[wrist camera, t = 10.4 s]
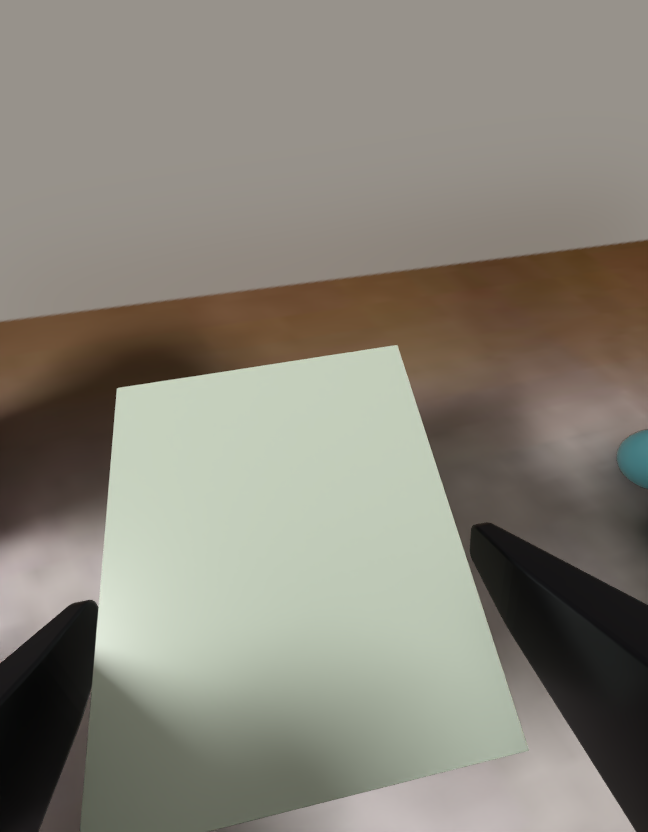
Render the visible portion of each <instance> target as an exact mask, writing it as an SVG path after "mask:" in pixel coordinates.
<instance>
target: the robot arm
mask: <svg viewBox="0 0 648 832" xmlns="http://www.w3.org/2000/svg"><path fill="white" fill-rule="evenodd" d="M470 554H471V558H472V560H473V562H474V564H475V566H476V568H477V570H478V572H479V574H480V576H481V578H482V580H483V582H484V584H485V586H486V588H487V590H488V592H489V594H490V596H491V598H492V599H493V601H494V603H495V605H496V607H497V609H498V611H499V613H500V615H501V617H502V619H503V621H504V622H505V624H506V626H507V628H508V629H509V631H510V633H511V634H512V636H513V637H514V639H515V641H516V642H517V644H518V645H519V647H520V649H521V650H522V652H523V653H524V655H525V656H526V658H527V660H528V661H529V663H530V664H531V666H532V668H533V669H534V671H535V672H536V674H537V675H538V677H539V679H540V680H541V682H542V683H543V685H544V687H545V688H546V690H547V691H548V693H549V694H550V696H551V698H552V699H553V701H554V702H555V704H556V706H557V707H558V709H559V710H560V712H561V713H562V715H563V717H564V718H565V720H566V721H567V723H568V725H569V726H570V728H571V729H572V731H573V732H574V734H575V736H576V737H577V739H578V740H579V742H580V744H581V745H582V747H583V748H584V750H585V751H586V753H587V755H588V756H589V758H590V759H591V761H592V763H593V764H594V766H595V767H596V769H597V770H598V772H599V774H600V775H601V777H602V778H603V780H604V782H605V783H606V785H607V786H608V788H609V789H610V791H611V793H612V794H613V796H614V797H615V799H616V801H617V802H618V804H619V805H620V807H621V808H622V810H623V812H624V813H625V815H626V816H627V818H628V820H629V821H630V823H631V824H632V826H633V827H634V829H635V831H636V832H648V605H646V604H645V603H643V602H641V601H639V600H637V599H635V598H633V597H631V596H629V595H627V594H625V593H624V592H622V591H620V590H618V589H616V588H614V587H612V586H610V585H608V584H606V583H605V582H603V581H601V580H599V579H597V578H595V577H593V576H591V575H589V574H587V573H585V572H584V571H582V570H580V569H578V568H576V567H574V566H572V565H570V564H568V563H566V562H564V561H563V560H561V559H559V558H557V557H555V556H553V555H551V554H549V553H547V552H545V551H543V550H542V549H540V548H538V547H536V546H534V545H532V544H530V543H528V542H526V541H524V540H522V539H521V538H519V537H517V536H515V535H513V534H511V533H509V532H507V531H505V530H503V529H502V528H500V527H498V526H496V525H494V524H492V523H489V522H486V523H481V524H476V525H473V526H472V528H471V539H470ZM98 608H99V607H98V605H97V604H96V602H95V601H93V600H86V601H81V602H76V603H73V604H71V605H69V606H68V607H67V608H66V609H64V610H63V611H62V612H61V613H60V614H58V615H57V616H56V617H55V618H54V619H52V620H51V621H50V622H49V623H48V624H47V625H45V626H44V627H43V628H42V629H41V630H39V631H38V632H37V633H36V634H35V635H33V636H32V637H31V638H30V639H29V640H28V641H26V642H25V643H24V644H23V645H22V646H20V647H19V648H18V649H17V650H16V651H14V652H13V653H12V654H11V655H10V656H9V657H7V658H6V659H5V660H4V661H3V662H1V663H0V832H38V831H39V829H40V826H41V824H42V821H43V818H44V816H45V813H46V811H47V808H48V806H49V803H50V800H51V798H52V795H53V793H54V790H55V787H56V785H57V782H58V780H59V777H60V775H61V772H62V769H63V767H64V764H65V762H66V759H67V756H68V754H69V751H70V749H71V746H72V744H73V741H74V738H75V736H76V733H77V731H78V728H79V725H80V722H81V720H82V717H83V714H84V711H85V708H86V705H87V702H88V698H89V695H90V692H91V688H92V680H93V668H94V656H95V644H96V632H97V620H98Z"/></svg>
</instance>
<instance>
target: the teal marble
mask: <svg viewBox="0 0 648 832" xmlns="http://www.w3.org/2000/svg"><path fill="white" fill-rule="evenodd" d="M616 458H617V464H618V467H619V469H620V470H621V472H622V473H623V475H624V476H625V477H626V478H628V479H629V480H630V481H631V482H633V483H634V484H636V485H638V486H640V487H642V488H645V489H648V429H646V430H642V431H639V432H636V433H634V434H632V435H630V436H629V437H627V438H626V439H625V440H624V441H623V442H622V443H621V445H620V446H619V448H618V451H617V456H616Z"/></svg>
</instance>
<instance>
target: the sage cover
mask: <svg viewBox="0 0 648 832" xmlns="http://www.w3.org/2000/svg"><path fill="white" fill-rule="evenodd" d="M525 751H529V749H528V746H527V743H526V740H525V737H524V734H523V730H522V727H521V724H520V721H519V718H518V715H517V712H516V709H515V706H514V703H513V700H512V697H511V694H510V690H509V687H508V684H507V681H506V678H505V675H504V672H503V669H502V666H501V663H500V660H499V657H498V654H497V650H496V647H495V644H494V641H493V638H492V635H491V632H490V629H489V626H488V623H487V620H486V617H485V614H484V610H483V607H482V604H481V601H480V598H479V595H478V592H477V589H476V586H475V583H474V580H473V577H472V574H471V571H470V567H469V564H468V561H467V558H466V555H465V552H464V549H463V546H462V543H461V540H460V537H459V534H458V531H457V527H456V524H455V521H454V518H453V515H452V512H451V509H450V506H449V503H448V500H447V497H446V494H445V491H444V487H443V484H442V481H441V478H440V475H439V472H438V469H437V466H436V463H435V460H434V457H433V454H432V451H431V447H430V444H429V441H428V438H427V435H426V432H425V429H424V426H423V423H422V420H421V417H420V414H419V411H418V407H417V404H416V401H415V398H414V395H413V392H412V389H411V386H410V383H409V380H408V377H407V374H406V371H405V367H404V364H403V361H402V358H401V355H400V352H399V349H398V346H397V345H395V346H388V347H382V348H375V349H369V350H362V351H356V352H349V353H343V354H336V355H330V356H323V357H316V358H310V359H303V360H297V361H290V362H284V363H277V364H271V365H264V366H258V367H251V368H245V369H238V370H232V371H225V372H219V373H212V374H206V375H199V376H193V377H186V378H180V379H173V380H166V381H160V382H153V383H147V384H140V385H134V386H127V387H121V388H117V393H116V405H115V417H114V429H113V441H112V453H111V465H110V477H109V489H108V501H107V513H106V525H105V537H104V548H103V560H102V572H101V584H100V596H99V608H98V620H97V632H96V644H95V656H94V668H93V680H92V692H91V704H90V716H89V728H88V740H87V752H86V764H85V776H84V787H83V799H82V811H81V823H80V832H208V831H212V830H216V829H220V828H224V827H228V826H232V825H236V824H240V823H244V822H248V821H252V820H256V819H260V818H264V817H268V816H272V815H276V814H280V813H284V812H288V811H292V810H296V809H300V808H303V807H307V806H311V805H315V804H319V803H323V802H327V801H331V800H335V799H339V798H343V797H347V796H351V795H355V794H359V793H363V792H367V791H371V790H375V789H379V788H383V787H387V786H391V785H395V784H399V783H403V782H406V781H410V780H414V779H418V778H422V777H426V776H430V775H434V774H438V773H442V772H446V771H450V770H454V769H458V768H462V767H466V766H470V765H474V764H478V763H482V762H486V761H490V760H494V759H498V758H502V757H506V756H509V755H513V754H517V753H521V752H525Z"/></svg>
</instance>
